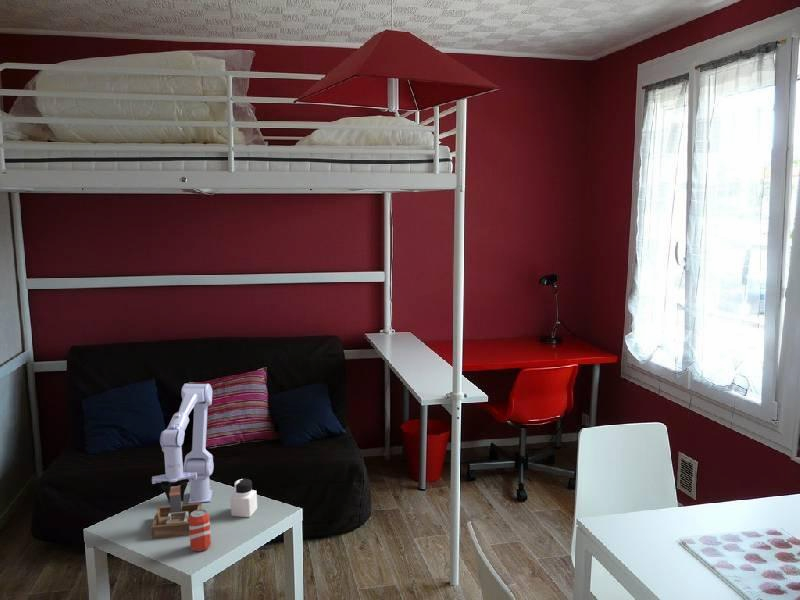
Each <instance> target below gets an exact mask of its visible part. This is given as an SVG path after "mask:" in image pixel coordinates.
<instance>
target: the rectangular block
mask: <svg viewBox="0 0 800 600" xmlns="http://www.w3.org/2000/svg"><path fill="white" fill-rule="evenodd" d="M169 496H170V503H169V504H170V505H169V506H170V510H171V512H178V511H181V510H182V506H183V505H184V500H183V501H181V489H180V485H177V486H176V485H175V486H170V492H169Z"/></svg>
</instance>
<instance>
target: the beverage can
mask: <svg viewBox="0 0 800 600" xmlns="http://www.w3.org/2000/svg"><path fill="white" fill-rule="evenodd" d="M190 515H191V516H190V518H189V530H190V535H189V542H190V543H189V545H190V549H191V550H192V551H195V552H203V551H205V550H207V549H208V548H210V547H211V544H212V540H211V526H210V525H211V523H210V522H211V521H210V515H209V513H208V511H207V510H206V509H203V508H202V509H199V510H195V511H193V512H191V514H190ZM202 550H203V551H202Z"/></svg>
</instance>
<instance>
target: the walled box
mask: <svg viewBox="0 0 800 600" xmlns="http://www.w3.org/2000/svg"><path fill="white" fill-rule="evenodd" d="M199 509H203V507H202V502H200V503H190V504H189V503H187V504H183V506H182V510H181V511H178V512H171V510H170V505H165V506H158V507H157V508H156V511H155V514H154V517H153V521H152V523H151V526H150V527H151V528H150V530H151V539H153V540H154V538H155V539H162V538H163V539H164V538H173V537H180V536H188V535H189V536H190V530H189V518H190V516H191V515H190V514H191V512H193V511H195V510H199Z"/></svg>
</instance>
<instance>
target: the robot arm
mask: <svg viewBox="0 0 800 600" xmlns="http://www.w3.org/2000/svg"><path fill="white" fill-rule="evenodd" d="M181 399H182V401H181V403H180V406H179V410H178V411H177V412H175V413H174V414H173V415H172V417H171V420H170V422H169V424H168V426H167V428H166V429H164V430H163V431H161V433H160V437H159V443H160V447H161V451H162V452H163V455H164V456H163V457H164V468H165V469H164V471H165V474H160V475H155V476H153V475H152V477H151V483H152V485H155V484H158V483H159V484H160V488H161V490H162V491H163V492H164V494H165V496H166V498H167V502H168V504H170V496H169V492H170V489H171V483H176V482H180V483H179V486H180V489H181V501H183V502H184V500H185V491H186V489H187V488H188V487H187V486H188V485H189V494H190V495H189V497H188V498H189V499H188V504H194V503H208V502H210V503H211V501H212V496H213V489H211V487H210V485H211V484H210V482H211V481H210V476H211V475H212V474H213V473H214V466H215V465H214V456H213V454H212V453H210V451H208V450H207V449H206V447H207V444H206V443H207V430H208V429H207V426H208V408H209V406H211V405H212V404H213V403H212V402H213V388H212V386H211V384H210V383H188V382H187V383H184V384H183V386H182V387H181ZM192 410H193V424H192V425H193V426H192V444H191V446H192V447H191V451H190V452H189V453H187V454H186V455H185V457H184V462H183V449H182V448H183V447H182V446H183V444H184V441H185V434H186V433H185V430H186V429H187V426H188V424H189V422H190V418H189V415H190V414H191V412H192Z"/></svg>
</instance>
